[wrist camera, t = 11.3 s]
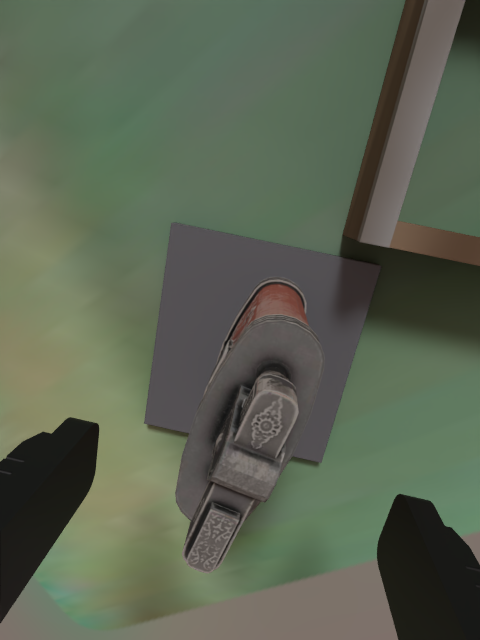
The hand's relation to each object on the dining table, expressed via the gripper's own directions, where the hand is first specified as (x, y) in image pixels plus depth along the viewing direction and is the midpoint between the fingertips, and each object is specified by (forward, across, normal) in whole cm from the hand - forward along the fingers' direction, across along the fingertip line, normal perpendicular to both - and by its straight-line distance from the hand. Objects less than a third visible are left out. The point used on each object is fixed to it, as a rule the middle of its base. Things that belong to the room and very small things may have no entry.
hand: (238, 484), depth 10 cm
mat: (+10, 0, 0) cm, 10 cm away
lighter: (+10, 0, 0) cm, 10 cm away
